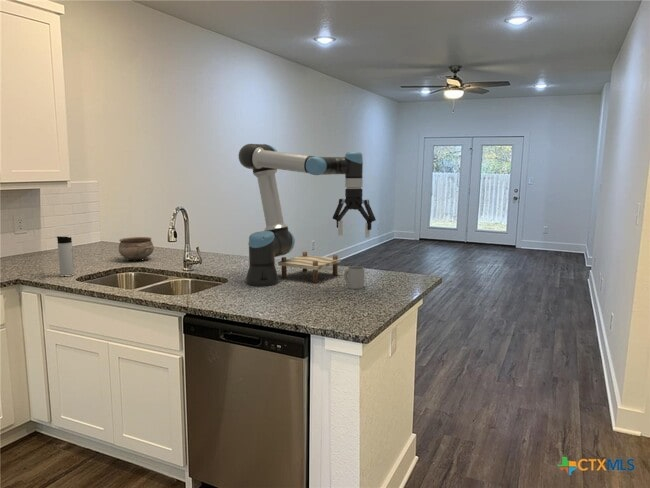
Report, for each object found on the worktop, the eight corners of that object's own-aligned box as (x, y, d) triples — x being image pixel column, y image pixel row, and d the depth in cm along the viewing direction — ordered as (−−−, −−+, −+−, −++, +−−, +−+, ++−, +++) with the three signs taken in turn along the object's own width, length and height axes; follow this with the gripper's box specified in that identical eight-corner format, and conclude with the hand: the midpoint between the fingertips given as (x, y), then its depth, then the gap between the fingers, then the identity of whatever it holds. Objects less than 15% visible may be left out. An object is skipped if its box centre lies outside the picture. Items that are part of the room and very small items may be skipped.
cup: (358, 290, 219) (358, 270, 217) (339, 286, 225) (339, 267, 223) (367, 286, 224) (367, 267, 223) (348, 283, 230) (348, 264, 229)
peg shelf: (316, 283, 230) (316, 262, 228) (278, 278, 241) (278, 257, 240) (340, 274, 248) (340, 255, 247) (303, 270, 260) (303, 251, 258)
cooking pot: (108, 260, 286) (107, 239, 284) (136, 255, 302) (134, 235, 300) (138, 265, 274) (136, 243, 272) (164, 259, 290) (163, 238, 288)
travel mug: (57, 276, 246) (53, 236, 243) (69, 273, 252) (65, 234, 249) (65, 277, 243) (61, 237, 240) (77, 275, 249) (74, 235, 246)
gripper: (383, 188, 214) (382, 237, 218) (333, 187, 227) (333, 233, 231) (376, 189, 208) (375, 239, 211) (325, 187, 221) (325, 235, 224)
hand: (353, 236), depth 221 cm, fingers open, 13 cm apart
